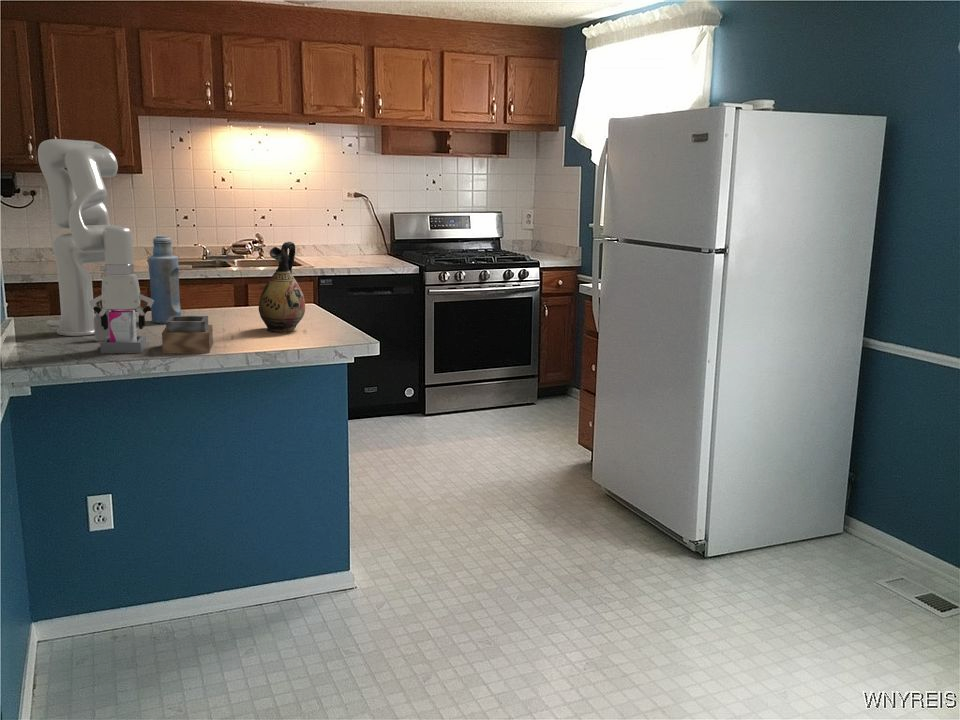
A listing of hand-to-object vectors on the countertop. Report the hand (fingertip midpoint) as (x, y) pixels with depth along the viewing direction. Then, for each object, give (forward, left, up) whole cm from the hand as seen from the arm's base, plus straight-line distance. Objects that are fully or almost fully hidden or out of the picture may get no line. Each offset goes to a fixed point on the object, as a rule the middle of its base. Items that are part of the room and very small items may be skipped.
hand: (123, 328), depth 240 cm
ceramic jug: (+46, +30, -6) cm, 55 cm away
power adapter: (-8, +15, -6) cm, 19 cm away
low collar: (0, 0, -6) cm, 6 cm away
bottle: (+6, +47, -6) cm, 48 cm away
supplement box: (0, 0, -7) cm, 7 cm away
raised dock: (+18, 0, -6) cm, 19 cm away
